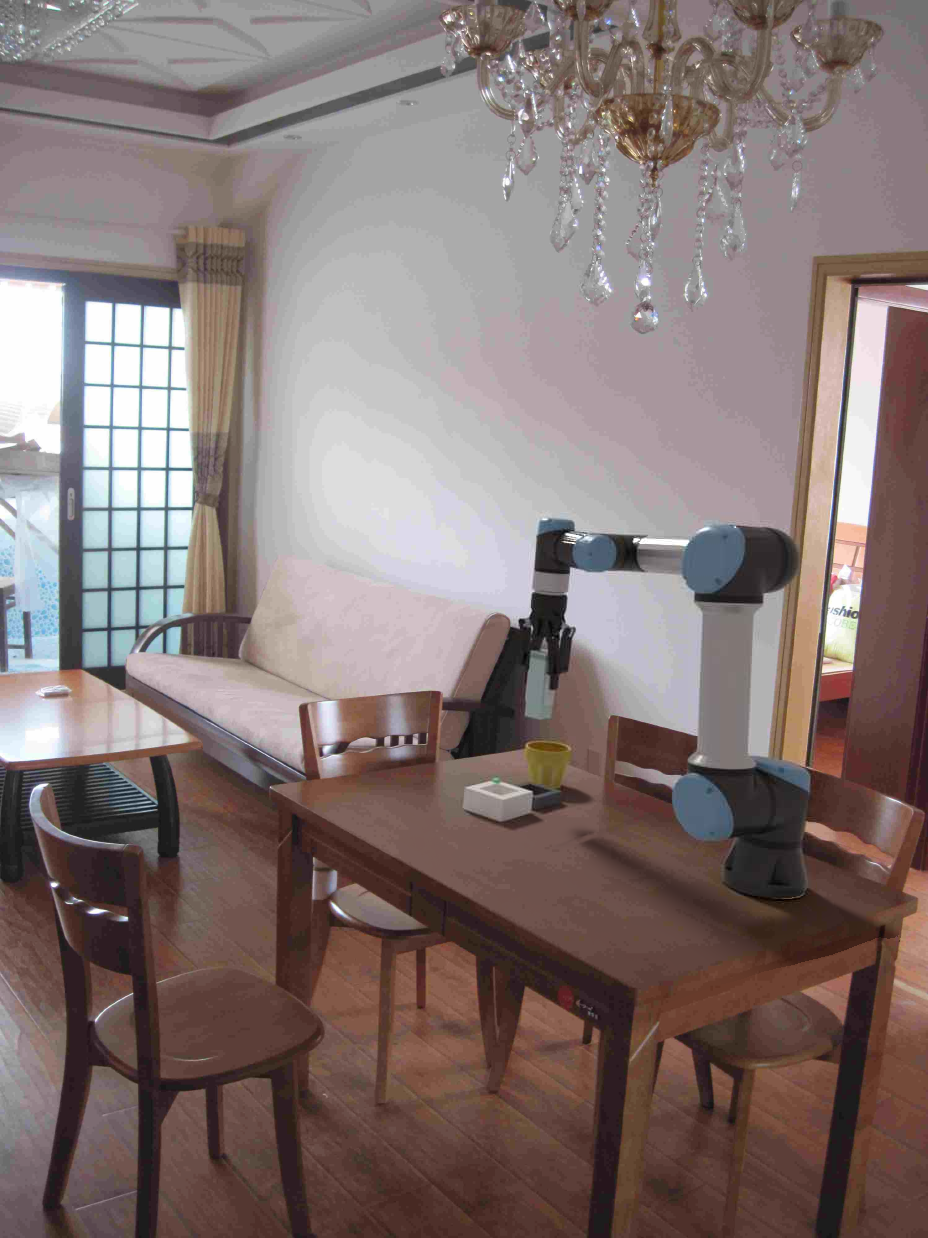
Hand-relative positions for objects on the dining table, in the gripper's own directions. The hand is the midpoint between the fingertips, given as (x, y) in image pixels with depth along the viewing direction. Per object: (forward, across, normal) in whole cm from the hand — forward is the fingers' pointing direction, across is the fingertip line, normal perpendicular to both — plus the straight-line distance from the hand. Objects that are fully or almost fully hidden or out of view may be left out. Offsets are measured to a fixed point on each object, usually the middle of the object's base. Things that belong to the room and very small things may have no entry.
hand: (539, 702), depth 242 cm
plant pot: (+23, +6, -14) cm, 27 cm away
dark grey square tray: (+22, 0, -1) cm, 22 cm away
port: (+22, 0, +11) cm, 25 cm away
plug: (+3, 0, 0) cm, 3 cm away
